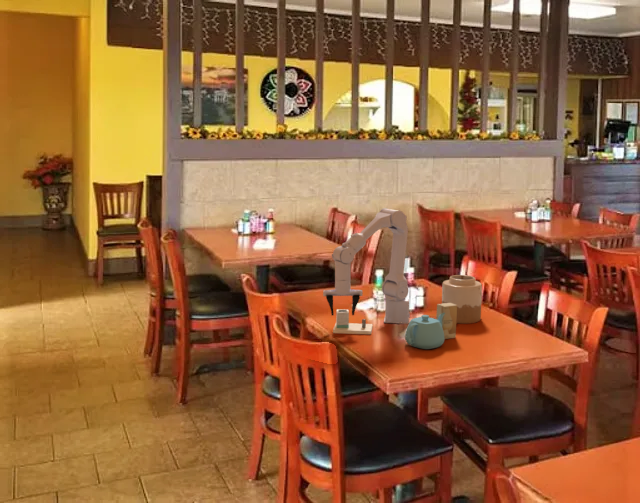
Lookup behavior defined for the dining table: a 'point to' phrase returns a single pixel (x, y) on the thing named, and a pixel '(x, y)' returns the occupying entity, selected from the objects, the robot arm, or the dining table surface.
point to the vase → (463, 297)
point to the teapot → (425, 332)
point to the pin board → (355, 328)
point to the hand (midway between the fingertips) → (342, 314)
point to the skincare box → (448, 319)
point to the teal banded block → (342, 318)
